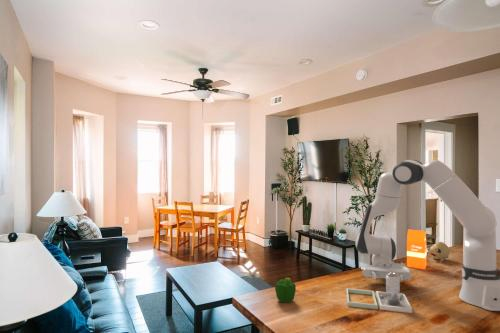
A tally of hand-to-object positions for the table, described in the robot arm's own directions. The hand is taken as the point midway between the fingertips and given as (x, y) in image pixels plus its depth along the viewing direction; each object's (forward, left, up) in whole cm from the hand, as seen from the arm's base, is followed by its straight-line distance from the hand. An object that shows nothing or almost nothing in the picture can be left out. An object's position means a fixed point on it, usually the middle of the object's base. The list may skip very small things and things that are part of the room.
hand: (388, 278), depth 134 cm
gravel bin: (0, +11, -8) cm, 13 cm away
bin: (+12, +11, -8) cm, 18 cm away
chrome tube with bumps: (0, +11, -6) cm, 13 cm away
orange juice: (-21, -46, -8) cm, 51 cm away
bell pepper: (+43, +16, -8) cm, 46 cm away
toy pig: (-36, -61, -8) cm, 71 cm away
